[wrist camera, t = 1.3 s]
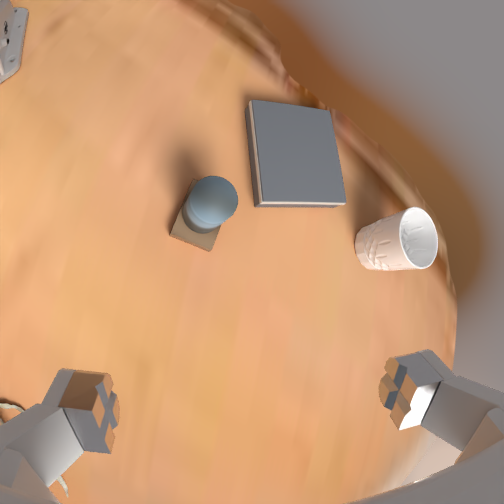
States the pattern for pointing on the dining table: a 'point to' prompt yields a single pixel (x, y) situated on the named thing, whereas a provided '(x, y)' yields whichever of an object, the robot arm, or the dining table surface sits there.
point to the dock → (293, 156)
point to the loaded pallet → (205, 211)
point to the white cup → (398, 241)
